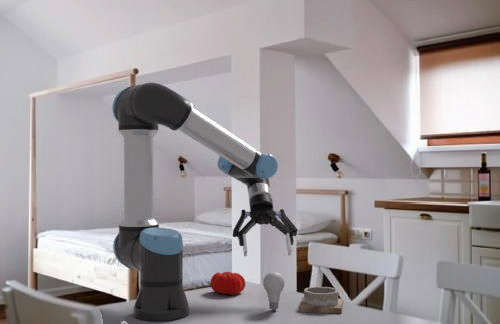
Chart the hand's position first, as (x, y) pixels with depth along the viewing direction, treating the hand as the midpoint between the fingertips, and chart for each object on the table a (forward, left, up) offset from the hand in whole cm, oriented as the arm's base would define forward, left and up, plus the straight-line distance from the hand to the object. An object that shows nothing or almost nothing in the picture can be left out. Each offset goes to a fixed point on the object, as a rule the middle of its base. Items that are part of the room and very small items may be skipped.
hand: (268, 253), depth 183 cm
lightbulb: (+3, -10, -15) cm, 18 cm away
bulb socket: (+16, -4, -15) cm, 22 cm away
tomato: (-15, +10, -15) cm, 23 cm away
